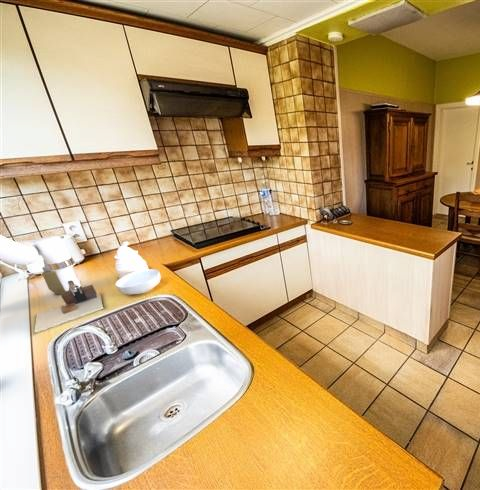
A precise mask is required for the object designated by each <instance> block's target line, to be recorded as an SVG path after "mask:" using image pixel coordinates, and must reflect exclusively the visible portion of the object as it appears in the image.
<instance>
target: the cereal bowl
mask: <svg viewBox="0 0 480 490" xmlns="http://www.w3.org/2000/svg"><path fill="white" fill-rule="evenodd" d="M161 279H162V275H161V273H160V271H159V270H158V269H155V268H149V269H147V270H141V271H137V272H134V273H131V274H129V275H127V276H124V277H123V278H121V279H120V278H119V279H118V280H117V281H116V282H115V287H116V289H117V290H118V291H119V293H121V294H124V295H130V296H131V295H141V294H145V293H147V292H150V291H152V290H153V289H154V288H155V287H156V286H157V285H159V283H160V282H161Z"/></svg>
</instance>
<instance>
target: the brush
mask: <svg viewBox="0 0 480 490" xmlns="http://www.w3.org/2000/svg"><path fill="white" fill-rule="evenodd" d="M80 289H81V291H82V292H84V294H85V296H86V298H87V300H90V299H93V298H96V297H97V295H96V294H98V293H97V290H96V289H95V287H94V285H93V284H90V285H85V286H83V287H82V288H80ZM77 290H79V289H77ZM61 298H62V300H63V302H64V304H71V303H75V304H78V302H77V301H76V299H75V297H74V296H73V293H72V291H69V292H66V293H63V294H61ZM87 300H85V301H87ZM82 302H84V301H82ZM79 303H81V302H79Z"/></svg>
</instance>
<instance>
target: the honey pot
mask: <svg viewBox="0 0 480 490" xmlns="http://www.w3.org/2000/svg"><path fill="white" fill-rule="evenodd" d="M129 244H130V242H129V241H123V242H122V245H120V246H119V247H118V248H117V250H116V253H115V255H114V256H113V259H114V260H115V272H116V274H117V277H118V278H119V279H121V278H123V277H124V276H127V275H129V274H131V273H134V272H137V271H141V270H147V269H150V268H149V266H148V264H147V261H146V260H145V259H144V258H143V257H142V256H141V255H139V251H138V250H136V249H132V248H131V247H129V246H128V245H129Z"/></svg>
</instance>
